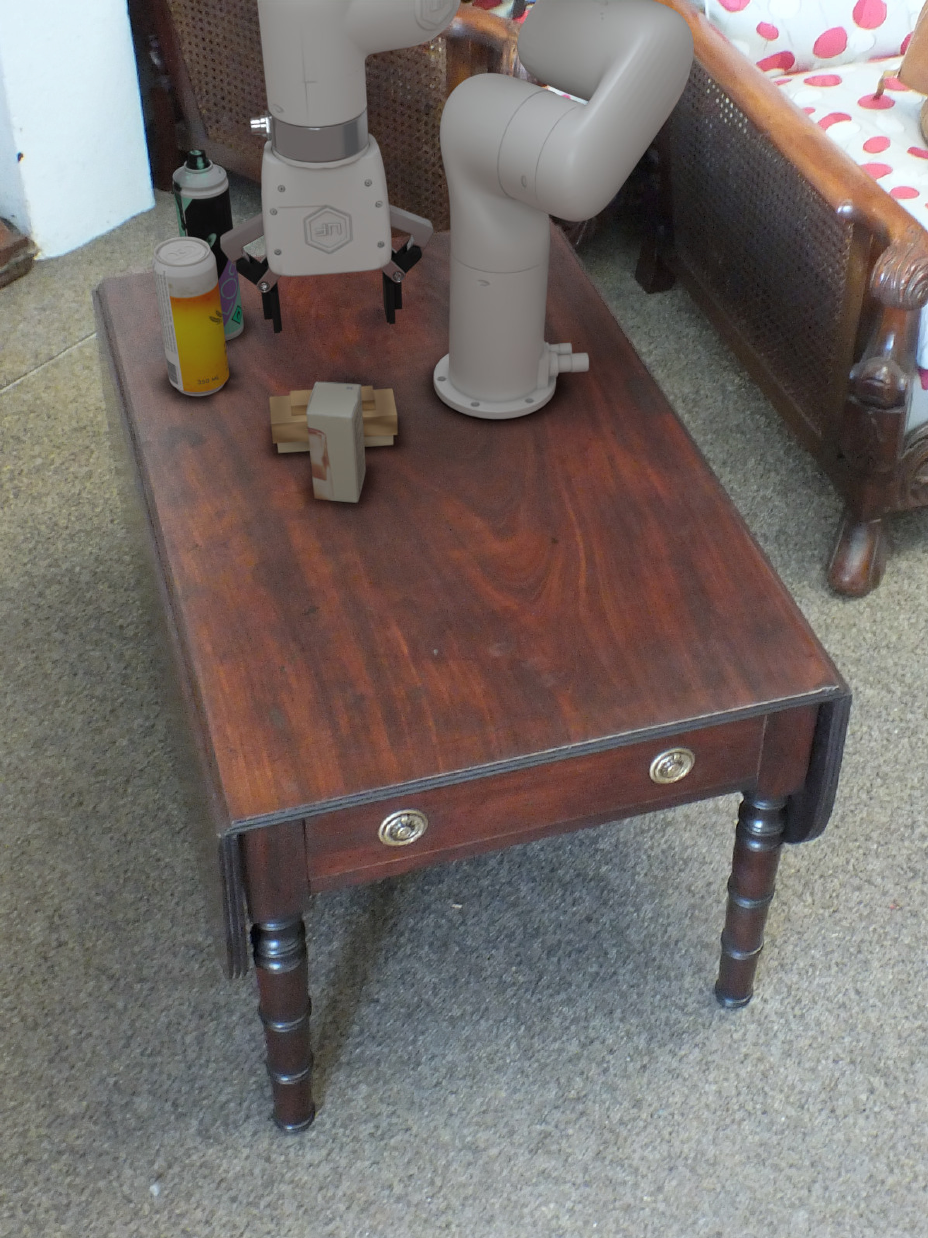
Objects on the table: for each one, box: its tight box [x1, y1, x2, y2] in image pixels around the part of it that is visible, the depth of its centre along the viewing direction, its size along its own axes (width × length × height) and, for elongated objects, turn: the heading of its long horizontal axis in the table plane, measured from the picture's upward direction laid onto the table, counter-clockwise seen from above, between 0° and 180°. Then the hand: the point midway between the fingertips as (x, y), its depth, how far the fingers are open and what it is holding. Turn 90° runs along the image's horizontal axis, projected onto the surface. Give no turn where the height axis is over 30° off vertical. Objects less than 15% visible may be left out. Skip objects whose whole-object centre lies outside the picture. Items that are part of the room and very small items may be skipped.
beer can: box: [150, 236, 230, 397], centre depth 137 cm, size 6×6×15 cm
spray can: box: [172, 149, 245, 342], centre depth 142 cm, size 6×6×20 cm
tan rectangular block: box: [268, 385, 399, 454], centre depth 134 cm, size 12×4×5 cm, turn 98°
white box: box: [306, 381, 367, 504], centre depth 127 cm, size 5×4×10 cm
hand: (333, 320), depth 118 cm, fingers open, 9 cm apart
